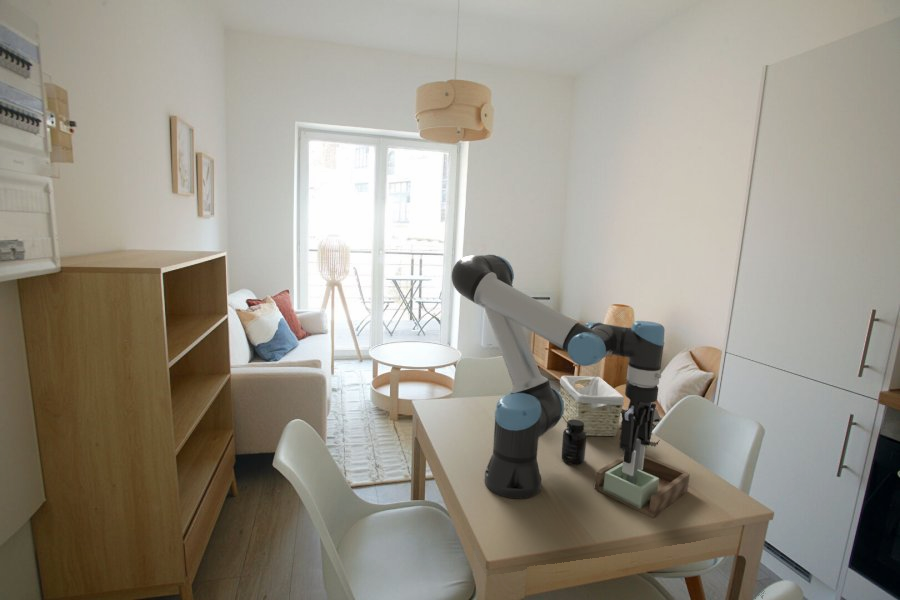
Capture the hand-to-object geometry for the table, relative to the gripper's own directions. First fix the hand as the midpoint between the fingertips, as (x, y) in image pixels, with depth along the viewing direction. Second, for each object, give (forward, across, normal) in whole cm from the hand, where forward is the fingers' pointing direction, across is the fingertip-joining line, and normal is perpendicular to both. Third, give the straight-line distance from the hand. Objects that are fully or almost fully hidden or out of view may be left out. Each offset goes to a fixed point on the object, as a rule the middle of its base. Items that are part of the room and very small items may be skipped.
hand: (632, 470), depth 118 cm
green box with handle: (+6, 0, 0) cm, 6 cm away
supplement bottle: (+8, +6, +21) cm, 23 cm away
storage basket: (+8, +34, +34) cm, 49 cm away
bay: (+8, +6, 0) cm, 10 cm away
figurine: (+8, +26, +11) cm, 30 cm away
